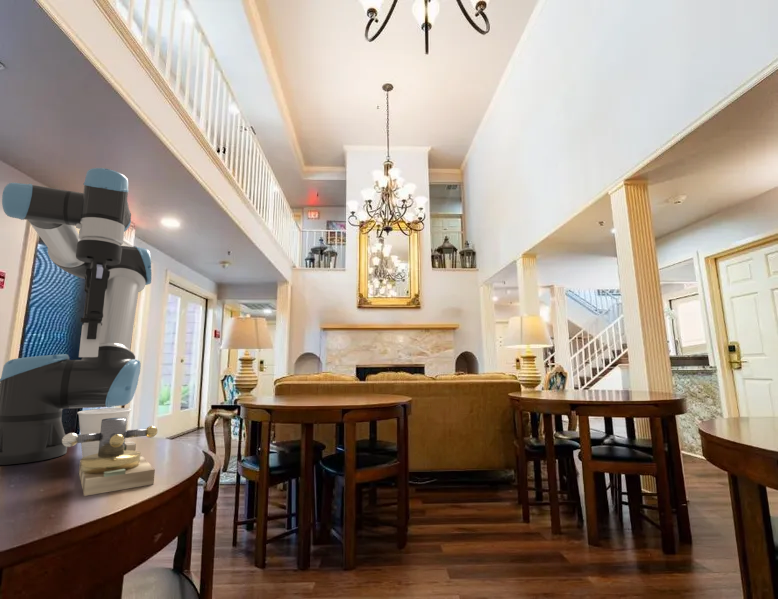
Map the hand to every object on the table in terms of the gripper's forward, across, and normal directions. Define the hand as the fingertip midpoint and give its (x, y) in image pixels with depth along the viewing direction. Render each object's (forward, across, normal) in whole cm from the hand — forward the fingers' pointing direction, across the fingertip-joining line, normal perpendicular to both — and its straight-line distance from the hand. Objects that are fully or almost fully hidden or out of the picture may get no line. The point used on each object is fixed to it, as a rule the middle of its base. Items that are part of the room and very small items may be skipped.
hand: (88, 356), depth 79 cm
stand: (+23, +5, +6) cm, 24 cm away
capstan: (+20, +6, +5) cm, 21 cm away
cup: (+23, -12, +5) cm, 26 cm away
